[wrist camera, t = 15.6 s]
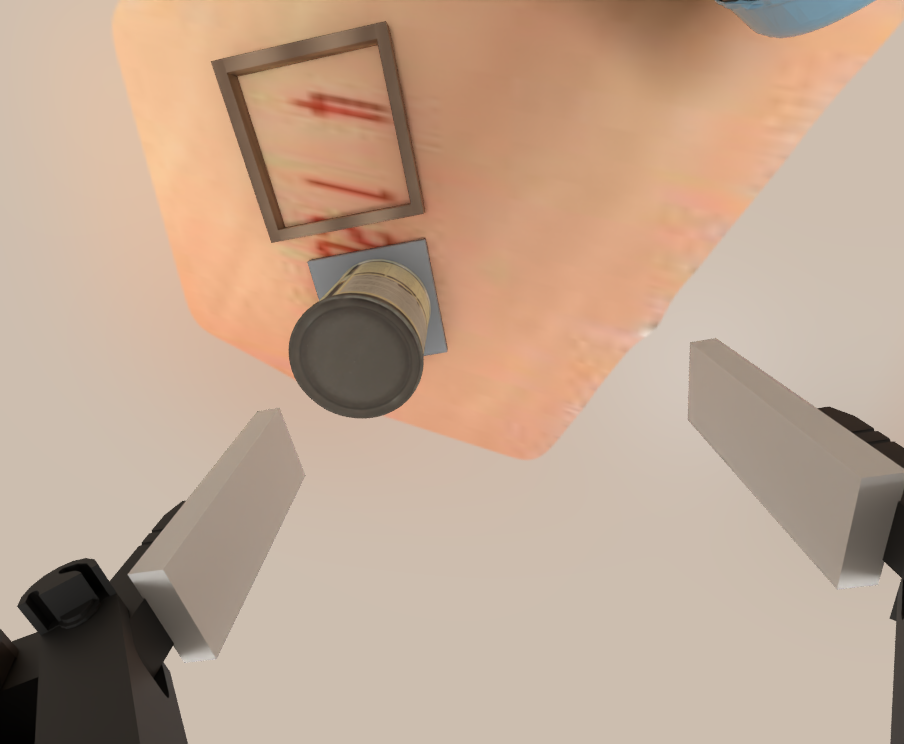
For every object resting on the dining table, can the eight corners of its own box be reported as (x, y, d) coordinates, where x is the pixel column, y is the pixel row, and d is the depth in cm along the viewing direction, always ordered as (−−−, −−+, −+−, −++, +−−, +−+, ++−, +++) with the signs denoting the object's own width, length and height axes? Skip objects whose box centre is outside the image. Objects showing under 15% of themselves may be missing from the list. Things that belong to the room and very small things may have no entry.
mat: (425, 238, 47) (424, 239, 46) (447, 348, 51) (447, 351, 51) (310, 259, 48) (307, 261, 47) (342, 365, 52) (340, 369, 52)
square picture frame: (389, 27, 39) (385, 21, 38) (425, 211, 45) (423, 213, 44) (222, 65, 41) (210, 61, 39) (278, 239, 47) (271, 242, 45)
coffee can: (426, 359, 51) (415, 426, 38) (331, 346, 50) (288, 410, 38) (437, 265, 47) (430, 305, 34) (334, 250, 46) (287, 286, 33)
